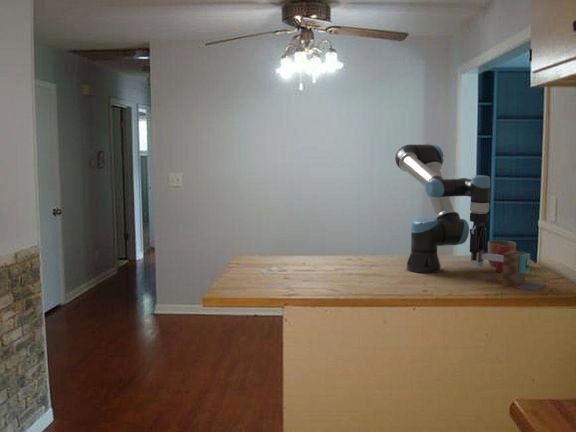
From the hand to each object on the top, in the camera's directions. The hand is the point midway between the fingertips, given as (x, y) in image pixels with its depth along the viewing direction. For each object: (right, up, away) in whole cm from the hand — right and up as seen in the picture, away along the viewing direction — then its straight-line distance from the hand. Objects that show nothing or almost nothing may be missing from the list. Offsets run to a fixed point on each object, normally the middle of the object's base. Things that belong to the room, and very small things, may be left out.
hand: (476, 266), depth 251 cm
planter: (+20, -2, +26) cm, 32 cm away
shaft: (+7, +2, -6) cm, 10 cm away
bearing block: (+12, -6, -9) cm, 16 cm away
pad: (+18, -7, -14) cm, 23 cm away
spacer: (+15, -1, -13) cm, 20 cm away
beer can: (+16, -4, +12) cm, 20 cm away
